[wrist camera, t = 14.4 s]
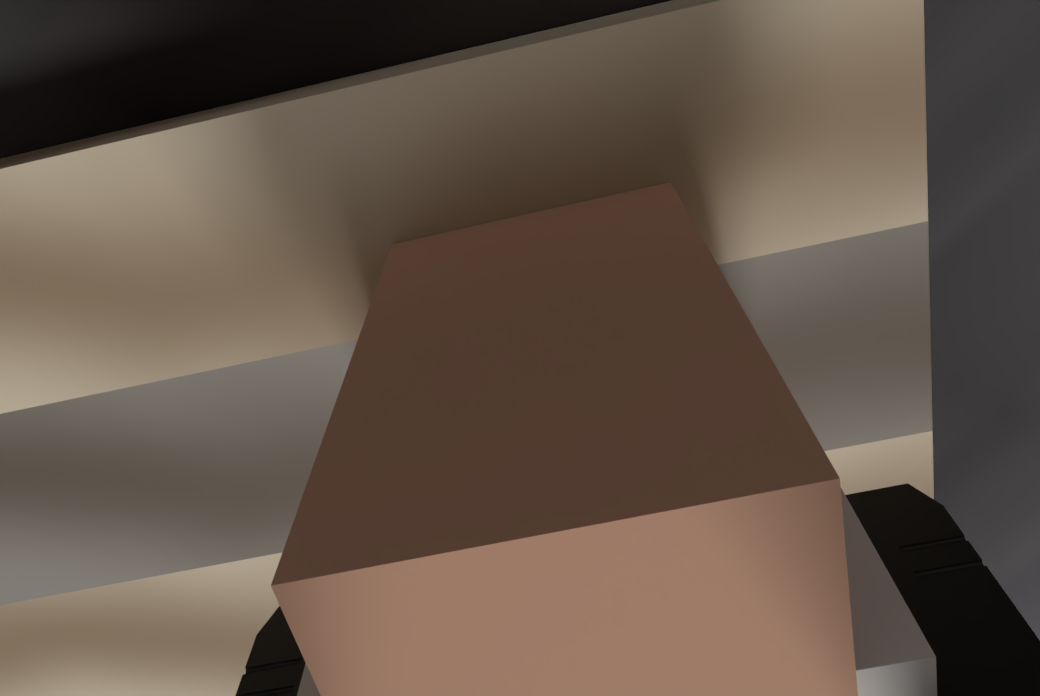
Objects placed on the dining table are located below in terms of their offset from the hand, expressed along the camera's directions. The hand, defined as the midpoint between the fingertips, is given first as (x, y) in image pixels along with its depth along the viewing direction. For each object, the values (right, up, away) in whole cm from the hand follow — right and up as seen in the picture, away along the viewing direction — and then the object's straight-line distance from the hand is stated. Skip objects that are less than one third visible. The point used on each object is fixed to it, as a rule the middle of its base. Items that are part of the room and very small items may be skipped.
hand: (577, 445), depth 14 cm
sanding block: (0, +1, +1) cm, 1 cm away
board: (-5, 0, +3) cm, 6 cm away
